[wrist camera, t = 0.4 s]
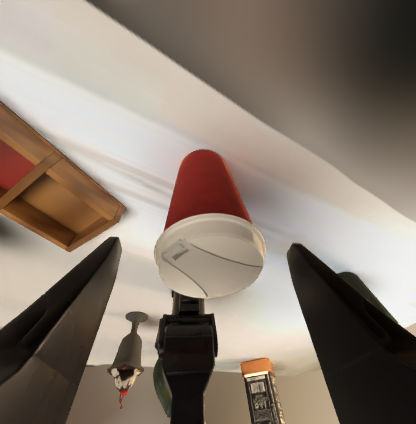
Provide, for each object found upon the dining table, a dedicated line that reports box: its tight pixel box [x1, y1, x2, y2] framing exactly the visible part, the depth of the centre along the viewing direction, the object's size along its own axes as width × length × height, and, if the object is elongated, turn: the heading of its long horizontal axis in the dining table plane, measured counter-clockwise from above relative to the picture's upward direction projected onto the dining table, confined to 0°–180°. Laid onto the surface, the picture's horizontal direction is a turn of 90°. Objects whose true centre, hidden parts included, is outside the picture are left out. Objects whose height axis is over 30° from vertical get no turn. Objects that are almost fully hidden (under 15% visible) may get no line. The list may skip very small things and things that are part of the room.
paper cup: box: [154, 149, 266, 298], centre depth 18 cm, size 8×8×14 cm
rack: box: [0, 102, 125, 252], centre depth 22 cm, size 18×9×3 cm, turn 33°
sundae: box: [107, 312, 148, 409], centre depth 40 cm, size 7×7×15 cm
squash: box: [153, 359, 172, 418], centre depth 56 cm, size 14×15×15 cm
